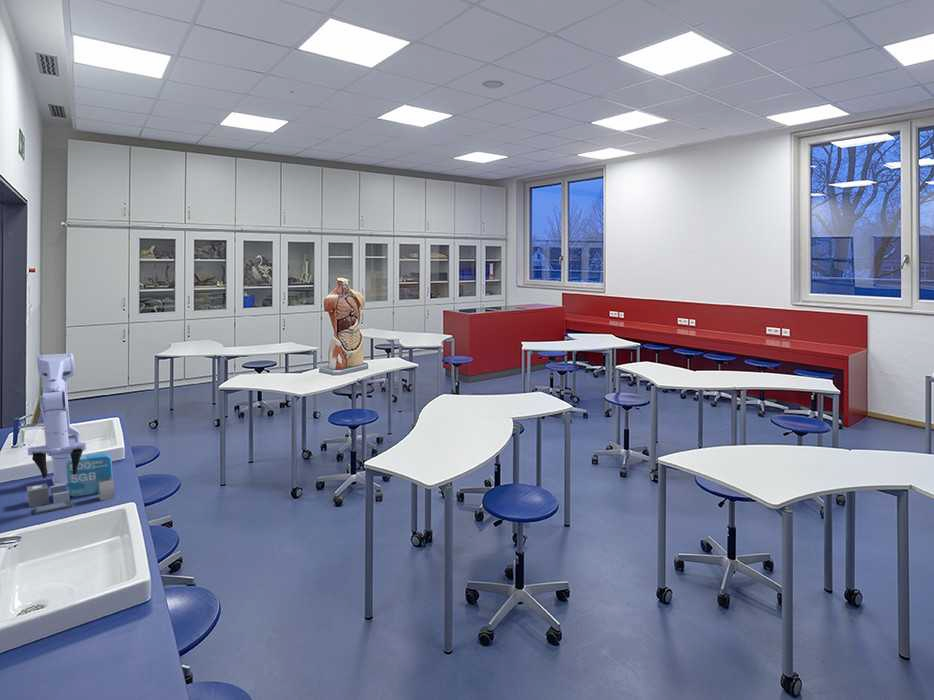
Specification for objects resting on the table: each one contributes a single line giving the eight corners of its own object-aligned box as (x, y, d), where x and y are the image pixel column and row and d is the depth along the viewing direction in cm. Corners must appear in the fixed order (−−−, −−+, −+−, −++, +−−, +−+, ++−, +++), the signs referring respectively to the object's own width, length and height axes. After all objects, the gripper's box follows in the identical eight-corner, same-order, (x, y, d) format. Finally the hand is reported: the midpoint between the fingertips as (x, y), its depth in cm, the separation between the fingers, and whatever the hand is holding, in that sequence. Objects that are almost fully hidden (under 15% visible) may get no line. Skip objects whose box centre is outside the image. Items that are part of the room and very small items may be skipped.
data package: (68, 497, 187) (65, 461, 186) (70, 493, 191) (67, 457, 190) (113, 491, 193) (110, 455, 191) (113, 487, 197) (110, 452, 195)
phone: (34, 511, 178) (33, 507, 178) (70, 504, 183) (69, 500, 183) (35, 516, 174) (35, 512, 174) (72, 509, 180) (71, 505, 179)
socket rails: (51, 495, 189) (50, 486, 189) (66, 492, 192) (65, 483, 191) (53, 504, 182) (53, 494, 182) (69, 501, 184) (69, 491, 184)
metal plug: (98, 497, 188) (96, 478, 187) (113, 494, 190) (111, 475, 189) (100, 501, 185) (98, 481, 184) (115, 498, 187) (113, 479, 186)
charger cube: (28, 502, 184) (26, 486, 183) (48, 498, 187) (46, 483, 186) (29, 507, 180) (27, 491, 179) (49, 503, 183) (47, 487, 182)
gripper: (23, 437, 172) (27, 482, 173) (81, 432, 177) (85, 476, 179) (30, 431, 178) (34, 475, 180) (86, 426, 183) (90, 469, 185)
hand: (60, 475), depth 180 cm, fingers open, 7 cm apart
